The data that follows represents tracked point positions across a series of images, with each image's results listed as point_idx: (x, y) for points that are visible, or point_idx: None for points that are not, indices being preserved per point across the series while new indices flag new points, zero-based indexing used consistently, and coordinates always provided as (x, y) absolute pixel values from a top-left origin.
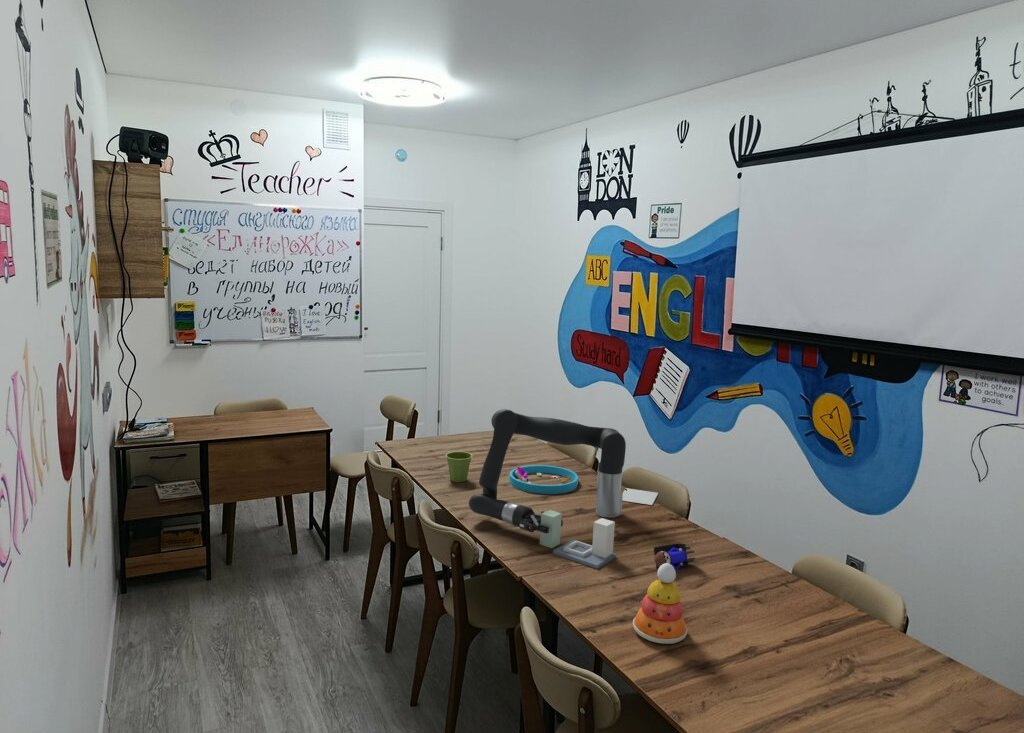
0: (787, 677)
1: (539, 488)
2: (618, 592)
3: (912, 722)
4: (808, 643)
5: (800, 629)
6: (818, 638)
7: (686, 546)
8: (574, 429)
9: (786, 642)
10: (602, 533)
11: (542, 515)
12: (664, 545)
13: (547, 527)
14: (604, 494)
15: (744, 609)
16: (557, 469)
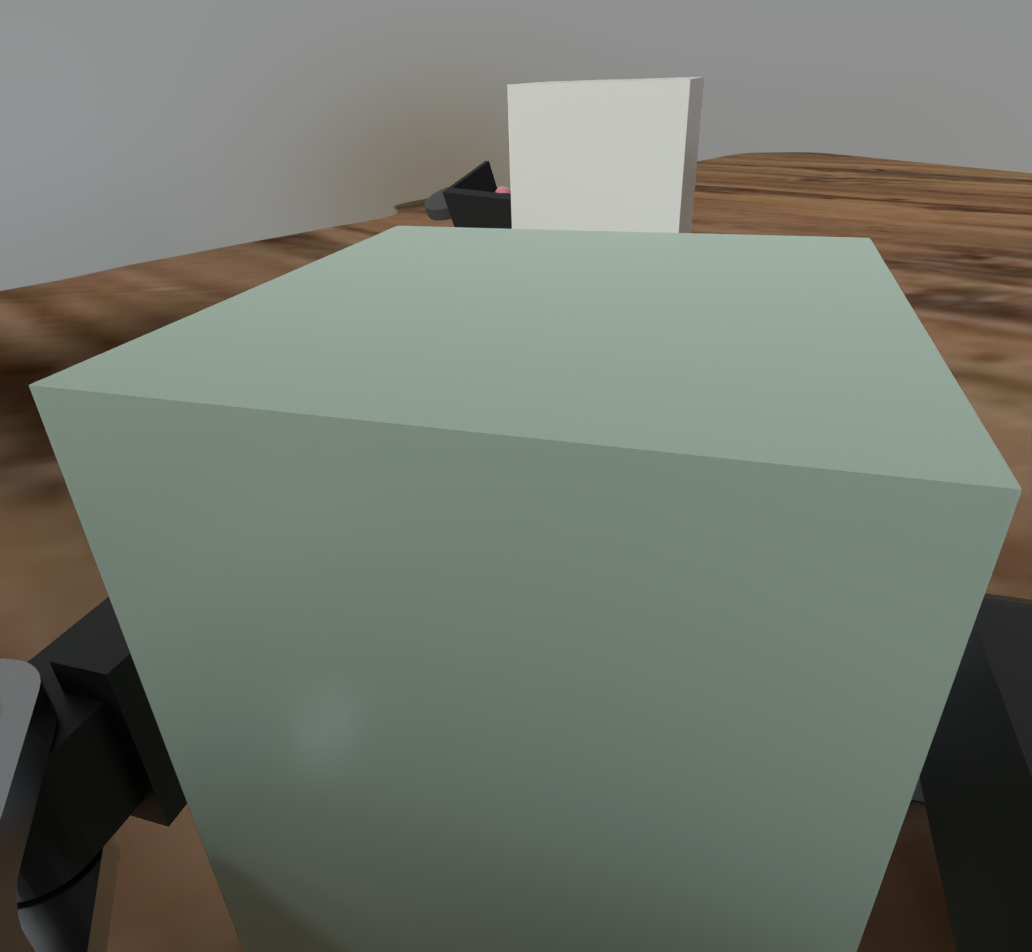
0: (995, 192)
1: None
2: (1024, 341)
3: (936, 164)
4: (799, 191)
5: (743, 195)
6: (758, 189)
7: (436, 198)
8: None
9: (835, 197)
10: (692, 182)
11: (958, 526)
12: (502, 197)
13: (1006, 599)
14: None
15: (731, 220)
16: None
